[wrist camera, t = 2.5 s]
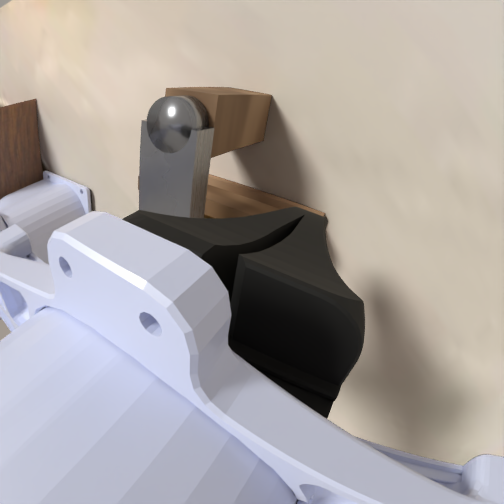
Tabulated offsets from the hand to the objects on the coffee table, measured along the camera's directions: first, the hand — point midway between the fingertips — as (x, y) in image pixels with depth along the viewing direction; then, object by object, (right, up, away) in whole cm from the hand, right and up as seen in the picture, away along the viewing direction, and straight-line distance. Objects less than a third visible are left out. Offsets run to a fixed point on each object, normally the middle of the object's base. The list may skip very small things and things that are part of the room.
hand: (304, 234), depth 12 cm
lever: (-6, 0, +4) cm, 7 cm away
